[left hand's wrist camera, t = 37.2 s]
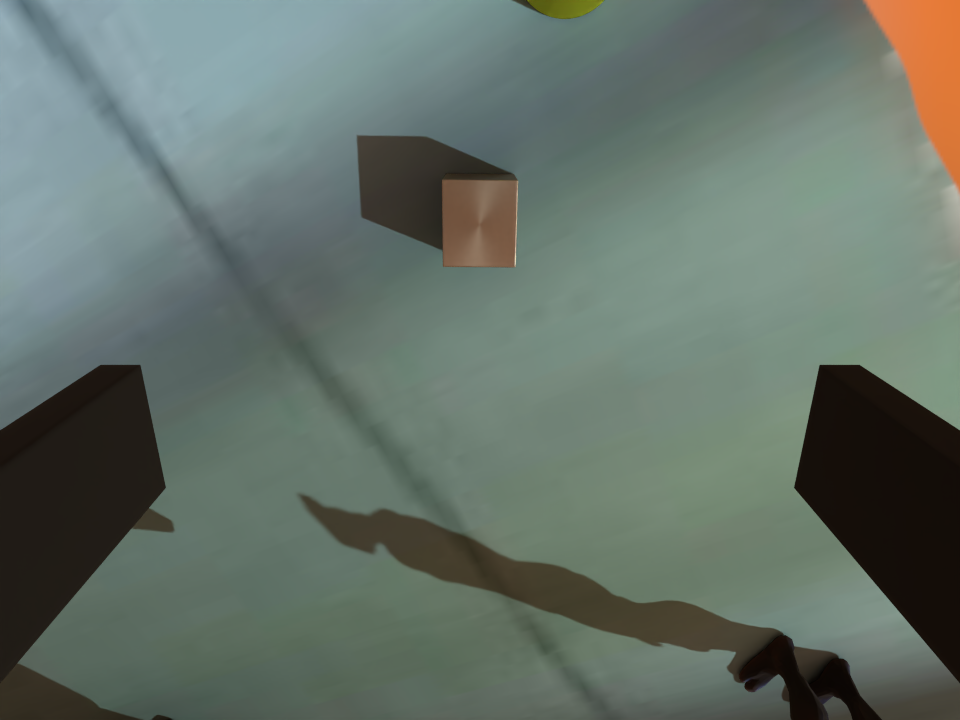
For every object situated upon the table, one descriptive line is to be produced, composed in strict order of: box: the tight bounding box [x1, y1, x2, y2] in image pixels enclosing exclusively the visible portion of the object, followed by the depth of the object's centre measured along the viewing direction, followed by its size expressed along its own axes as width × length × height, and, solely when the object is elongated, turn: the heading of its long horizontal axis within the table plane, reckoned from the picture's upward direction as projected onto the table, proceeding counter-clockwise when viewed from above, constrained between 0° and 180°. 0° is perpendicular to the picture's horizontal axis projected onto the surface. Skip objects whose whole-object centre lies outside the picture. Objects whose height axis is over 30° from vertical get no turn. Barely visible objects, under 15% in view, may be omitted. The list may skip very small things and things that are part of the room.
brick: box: [442, 173, 518, 267], centre depth 37 cm, size 5×4×4 cm
